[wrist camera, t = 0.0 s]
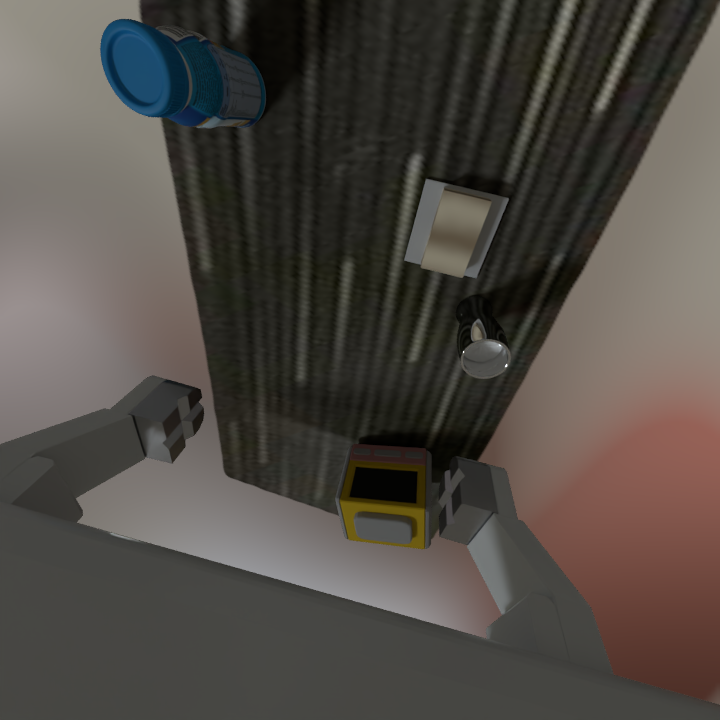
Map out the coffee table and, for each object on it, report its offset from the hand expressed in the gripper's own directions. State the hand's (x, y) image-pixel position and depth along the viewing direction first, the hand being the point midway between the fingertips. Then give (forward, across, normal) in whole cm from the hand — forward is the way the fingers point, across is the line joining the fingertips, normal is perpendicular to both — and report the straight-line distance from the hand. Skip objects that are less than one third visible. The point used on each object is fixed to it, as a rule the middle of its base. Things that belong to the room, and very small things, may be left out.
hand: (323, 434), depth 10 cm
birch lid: (+47, -8, +3) cm, 48 cm away
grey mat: (+48, -8, +3) cm, 49 cm away
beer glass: (+48, -16, +15) cm, 53 cm away
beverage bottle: (+48, +26, -8) cm, 55 cm away
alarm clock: (+48, -12, +59) cm, 77 cm away
